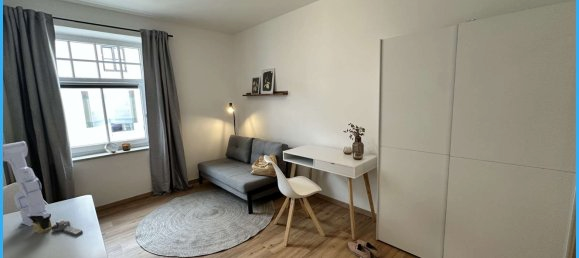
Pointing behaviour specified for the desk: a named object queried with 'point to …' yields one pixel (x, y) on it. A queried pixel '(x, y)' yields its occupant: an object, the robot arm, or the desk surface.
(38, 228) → the brushed gold cube
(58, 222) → the ratchet
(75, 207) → the desk surface
